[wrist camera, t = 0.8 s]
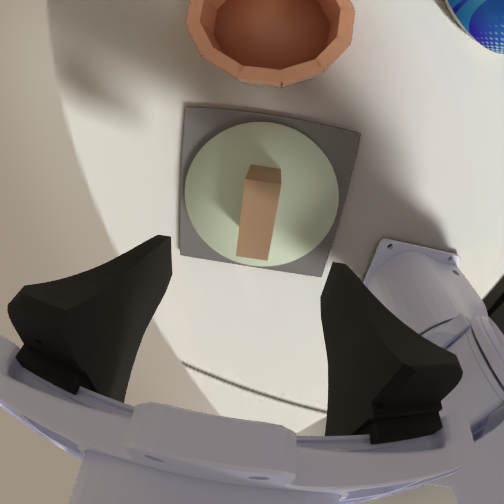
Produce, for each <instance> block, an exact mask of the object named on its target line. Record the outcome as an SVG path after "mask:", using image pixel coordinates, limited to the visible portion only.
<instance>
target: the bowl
mask: <svg viewBox="0 0 504 504" xmlns="http://www.w3.org/2000/svg"><path fill="white" fill-rule="evenodd" d="M354 15H355V10H354V7H353V5H352V3H351V1H350V0H190V2H189V7H188V13H187V18H186V27H187V29H188V31H189V33H190V35H191V37H192V39H193V41H194V43H195V45H196V47H197V49H198V51H199V53H200V55H201V56H202V58H204V59H206V60H207V61H209V62H211V63H212V64H214V65H216V66H217V67H219V68H221V69H222V70H224V71H225V72H227V73H229V74H230V75H232V76H233V77H235V78H236V79H238V80H240V81H242V82H244V83H246V84H255V85H263V86H270V87H277V88H280V87H282V88H283V87H286V86H289V85H292V84H295V83H298V82H302V81H305V80H308V79H312V78H314V77H316V76H318V75H319V74H321V73H322V72H324V71H325V70H326V69H327V68H328V67H329V66H330V65H331V64H332V63H333V62H334V61H335V60H336V59H337V58H338V57H339V56H340V55H341V54H342V53H343V52H344V51H345V50H346V49H347V47H348V46H349V45H350V44H351V40H352V32H353V24H354Z"/></svg>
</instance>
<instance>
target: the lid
mask: <svg viewBox="0 0 504 504" xmlns="http://www.w3.org/2000/svg"><path fill="white" fill-rule="evenodd" d="M338 202H339V191H338V183H337V179H336V175H335V172H334V170H333V167H332V165H331V164H330V162H329V160H328V158H327V157H326V155H325V154H324V153H323V151H322V150H321V149H320V148H319V147H318V146H317V145H316V144H315V143H314V142H313V141H312V140H311V139H309V138H308V137H307V136H305V135H304V134H302V133H301V132H299V131H297V130H295V129H293V128H290V127H288V126H285V125H282V124H277V123H273V122H249V123H244V124H239V125H236V126H234V127H231V128H229V129H227V130H225V131H223V132H221V133H219V134H218V135H216V136H215V137H213V138H212V139H210V140H209V141H208V142H207V143H206V144H205V145H204V146H203V147H202V148H201V150H200V151H199V152H198V153H197V155H196V156H195V158H194V160H193V161H192V163H191V166H190V168H189V171H188V174H187V178H186V182H185V203H186V209H187V212H188V215H189V218H190V220H191V223H192V225H193V227H194V228H195V230H196V231H197V233H198V234H199V236H200V237H201V238H202V239H203V240H204V241H205V242H206V243H207V244H208V245H209V246H210V247H211V248H212V249H214V250H215V251H216V252H217V253H219V254H221V255H222V256H224V257H226V258H228V259H230V260H233V261H235V262H238V263H241V264H246V265H251V266H276V265H281V264H285V263H289V262H291V261H294V260H297V259H299V258H301V257H303V256H304V255H306V254H307V253H309V252H310V251H312V250H313V249H314V248H315V247H316V246H318V245H319V243H320V242H321V241H322V240H323V239H324V238H325V236H326V235H327V233H328V232H329V230H330V228H331V227H332V225H333V223H334V220H335V217H336V214H337V209H338Z"/></svg>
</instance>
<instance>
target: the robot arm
mask: <svg viewBox="0 0 504 504" xmlns="http://www.w3.org/2000/svg"><path fill="white" fill-rule="evenodd" d="M389 244H392V245H391V246H390V247H388V245H389ZM449 257H450V258H449ZM448 258H449V259H448ZM459 262H460V256H459V255H457V254H454V253H450V252H445V251H441V250H437V249H432V248H428V247H424V246H419V245H415V244H410V243H405V242H401V241H396V240H391V239H387V238H384V239H382V240H380V242H379V244H378V246H377V249H376V252H375V254H374V257H373V259H372V262H371V264H370V267H369V269H368V272H367V274H366V276H365V279H364V281H363V282H362V281H361V280H360V279H359V278H358V277H357V276H356V275H355V273H354V272H353V271H352V270H351V269H350V268H349V267H348V266H347V265H346V264H341V263H335V262H333V263H332V266H331V269H330V272H329V275H328V278H327V281H326V283H325V286H324V289H323V292H322V295H321V297H320V298H321V320H322V326H323V332H324V339H325V345H326V351H327V359H328V408H327V422H326V431H325V436H297V434H296V433H294V432H293V431H292V430H290V429H288V428H286V427H284V426H282V425H276V424H271V423H266V422H259V421H250V420H243V419H236V418H229V417H223V416H216V415H211V414H206V413H201V412H196V411H191V410H187V409H183V408H178V407H174V406H170V405H165V404H158V403H153V402H149V403H143V404H139V405H136V406H135V407H134V406H131V405H128V404H125V403H124V399H125V394H126V390H127V386H128V381H129V378H130V374H131V370H132V367H133V364H134V361H135V358H136V354H137V351H138V349H139V346H140V343H141V340H142V337H143V335H144V332H145V330H146V328H147V326H148V324H149V322H150V320H151V319H152V317H153V315H154V313H155V311H156V309H157V307H158V305H159V304H160V302H161V300H162V298H163V296H164V294H165V292H166V290H167V287H168V284H169V282H170V279H171V276H172V258H171V237H169V236H163V235H157V236H155V237H153V238H151V239H149V240H147V241H145V242H144V243H142V244H140V245H138V246H137V247H135V248H133V249H131V250H130V251H128V252H126V253H124V254H122V255H120V256H118V257H116V258H115V259H113V260H111V261H109V262H107V263H105V264H102V265H100V266H98V267H95V268H93V269H91V270H88V271H85V272H82V273H79V274H77V275H73V276H70V277H67V278H63V279H60V280H55V281H51V282H46V283H40V284H33V285H26V286H24V287H23V288H22V289H21V290H20V291H19V292H18V294H17V295H16V296H15V297H14V298H13V300H12V301H11V302H10V303H9V304H8V314H9V318H10V319H11V322H12V324H13V326H14V327H15V329H16V331H17V333H18V334H19V336H20V338H21V340H22V341H23V343H24V345H23V347H22V348H21V349H20V348H19V347H18V346H17V345H16V344H15V343H13V342H11V341H10V340H8V339H7V338H5V337H3V336H0V406H1V407H2V408H3V409H5V410H6V411H7V412H8V413H10V414H11V415H12V416H14V417H15V418H16V419H18V420H19V421H20V422H22V423H23V424H25V425H26V426H27V427H29V428H30V429H32V430H33V431H34V432H36V433H37V434H39V435H40V436H42V437H44V438H45V439H47V440H48V441H50V442H51V443H53V444H55V445H56V446H58V447H60V448H61V449H63V450H65V451H66V452H68V453H70V454H72V455H74V456H76V457H77V458H79V459H81V460H83V462H82V465H81V467H80V470H79V473H78V476H77V479H76V482H75V485H74V488H73V491H72V495H71V497H70V501H69V504H350V503H356V502H362V501H368V500H372V499H377V498H381V497H386V496H389V495H394V494H398V493H401V492H405V491H408V490H412V489H415V488H418V487H421V486H424V485H428V484H431V485H438V486H444V487H449V488H451V489H452V491H453V493H454V496H455V498H456V500H457V502H458V504H504V336H503V334H502V333H501V331H500V330H499V328H498V327H497V326H496V325H495V323H494V322H493V321H492V320H491V319H490V318H489V317H488V314H487V310H486V307H485V305H484V303H483V301H482V300H481V298H480V297H479V295H478V294H477V292H476V291H475V290H474V288H473V287H472V285H471V284H470V283H469V281H468V280H467V279H466V277H465V276H464V275H463V273H462V272H461V271H460V269H459V268H458V267H457V266H458V264H459Z"/></svg>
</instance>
